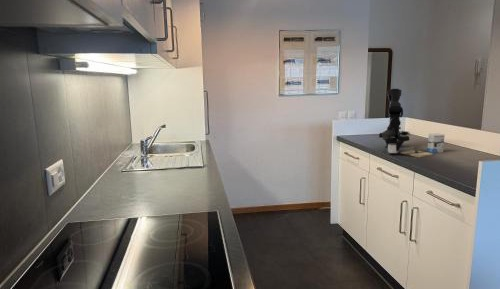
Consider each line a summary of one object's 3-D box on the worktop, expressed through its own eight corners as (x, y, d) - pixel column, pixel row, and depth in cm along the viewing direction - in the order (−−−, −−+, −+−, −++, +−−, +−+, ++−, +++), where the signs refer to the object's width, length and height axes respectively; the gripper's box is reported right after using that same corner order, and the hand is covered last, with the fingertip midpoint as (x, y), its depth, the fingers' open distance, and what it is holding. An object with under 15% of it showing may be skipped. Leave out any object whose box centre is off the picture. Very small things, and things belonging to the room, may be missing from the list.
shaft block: (400, 153, 228) (401, 143, 227) (413, 151, 233) (414, 141, 232) (419, 157, 216) (420, 147, 214) (432, 155, 221) (433, 144, 220)
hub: (385, 151, 226) (386, 143, 225) (392, 150, 228) (392, 142, 227) (393, 153, 220) (393, 145, 219) (400, 152, 223) (400, 144, 222)
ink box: (432, 153, 226) (433, 134, 224) (426, 151, 231) (427, 133, 228) (443, 152, 228) (445, 134, 226) (437, 150, 233) (439, 133, 231)
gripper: (373, 125, 226) (372, 149, 229) (397, 128, 209) (396, 154, 212) (385, 123, 231) (384, 147, 234) (410, 126, 214) (409, 152, 217)
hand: (393, 150), depth 224 cm, fingers closed on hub, 6 cm apart
